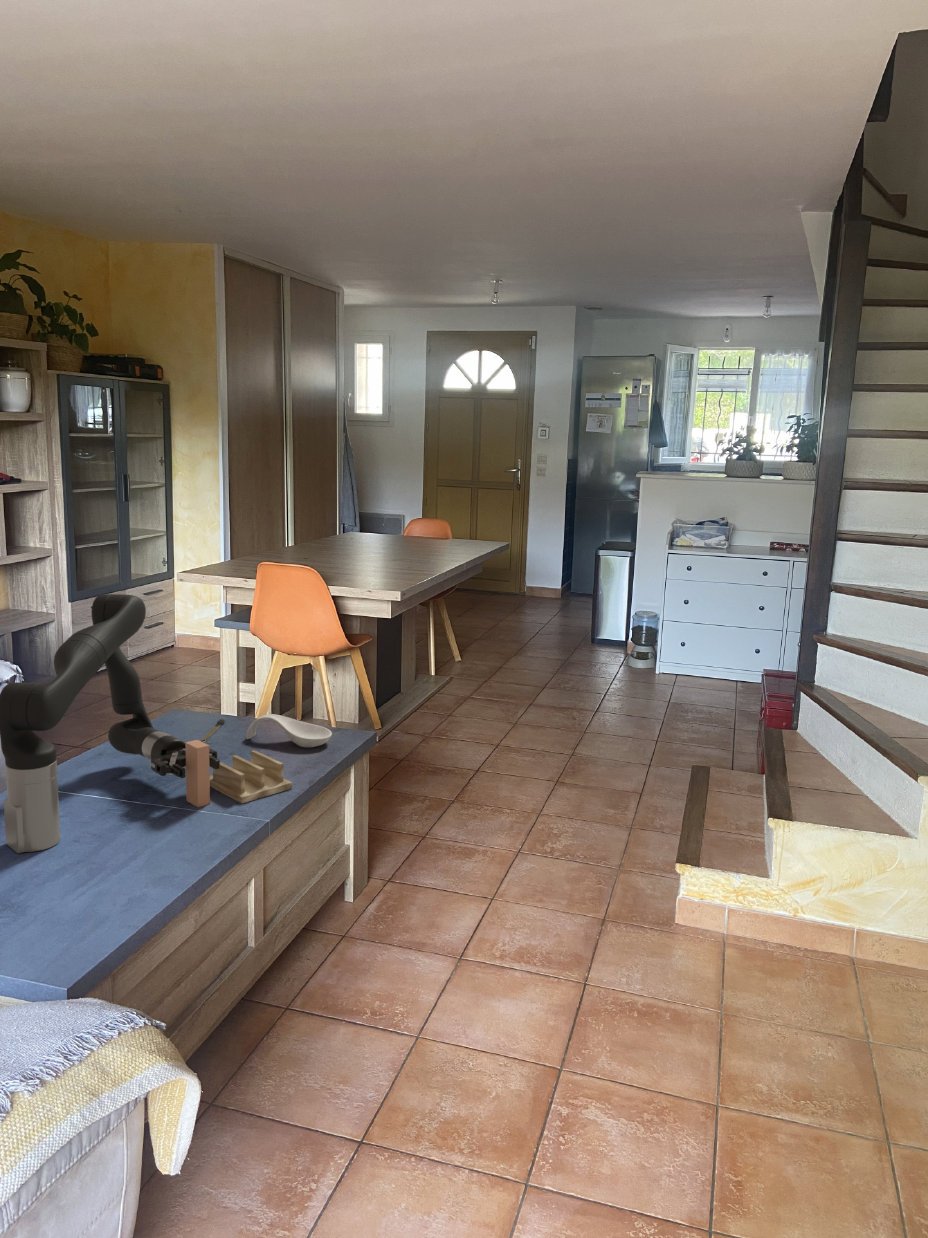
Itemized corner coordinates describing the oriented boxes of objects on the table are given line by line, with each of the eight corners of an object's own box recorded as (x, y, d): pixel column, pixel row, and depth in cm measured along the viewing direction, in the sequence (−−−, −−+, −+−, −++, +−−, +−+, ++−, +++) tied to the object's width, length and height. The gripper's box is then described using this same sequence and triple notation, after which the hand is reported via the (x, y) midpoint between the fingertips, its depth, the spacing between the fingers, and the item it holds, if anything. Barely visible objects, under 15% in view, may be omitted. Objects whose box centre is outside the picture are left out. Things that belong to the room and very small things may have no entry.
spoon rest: (337, 740, 253) (337, 715, 252) (323, 754, 242) (323, 728, 240) (257, 731, 257) (257, 707, 256) (240, 745, 246) (239, 719, 244)
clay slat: (198, 807, 204) (197, 748, 201) (186, 800, 207) (185, 742, 204) (209, 804, 206) (209, 745, 203) (198, 797, 209) (197, 739, 206)
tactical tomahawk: (214, 751, 243) (214, 747, 243) (190, 747, 243) (190, 743, 243) (240, 725, 263) (241, 722, 263) (218, 722, 264) (218, 718, 263)
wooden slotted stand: (241, 803, 207) (241, 778, 206) (204, 783, 217) (204, 759, 216) (292, 788, 217) (292, 764, 216) (253, 769, 228) (253, 747, 226)
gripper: (135, 741, 209) (172, 760, 198) (191, 729, 219) (228, 746, 208) (136, 772, 210) (172, 793, 199) (192, 758, 220) (229, 777, 210)
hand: (201, 769), depth 204 cm, fingers open, 8 cm apart
